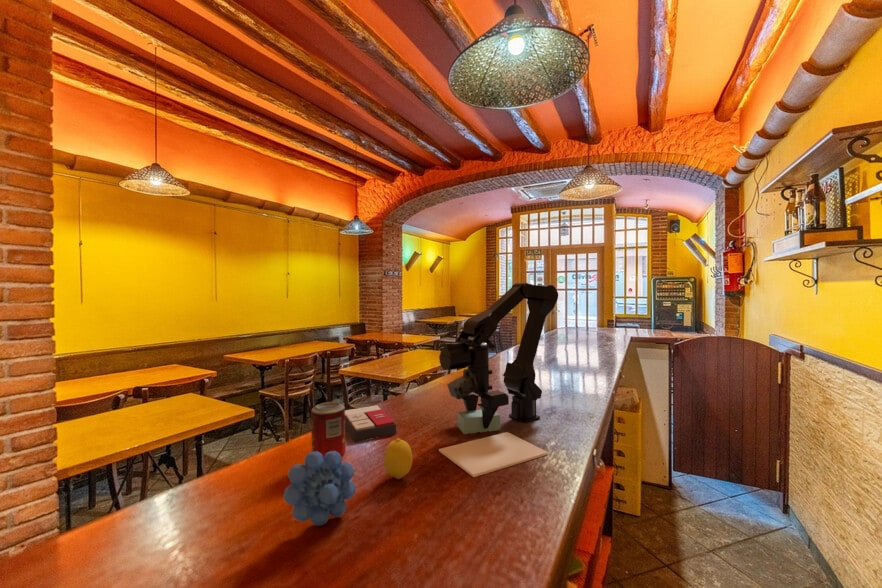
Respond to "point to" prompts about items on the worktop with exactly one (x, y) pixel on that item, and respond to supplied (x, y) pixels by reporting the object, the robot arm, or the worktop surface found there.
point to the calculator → (368, 423)
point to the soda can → (328, 428)
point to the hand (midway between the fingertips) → (478, 424)
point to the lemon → (398, 458)
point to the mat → (491, 453)
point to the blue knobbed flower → (320, 487)
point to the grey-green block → (476, 422)
